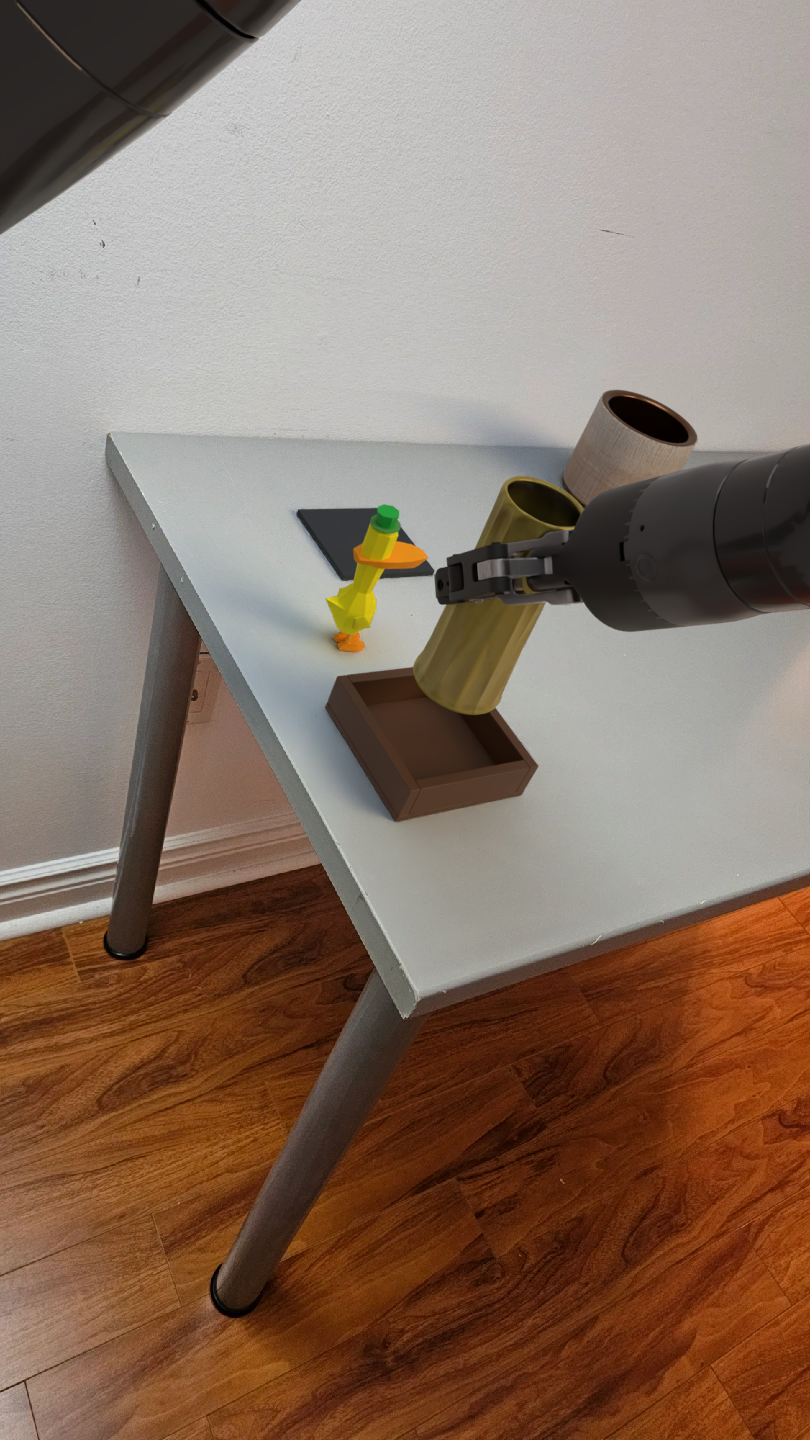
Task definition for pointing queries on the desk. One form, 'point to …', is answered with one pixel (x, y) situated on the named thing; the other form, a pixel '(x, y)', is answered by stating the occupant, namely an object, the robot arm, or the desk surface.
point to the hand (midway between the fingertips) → (481, 585)
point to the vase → (492, 607)
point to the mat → (350, 539)
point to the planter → (627, 445)
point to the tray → (426, 746)
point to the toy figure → (370, 576)
